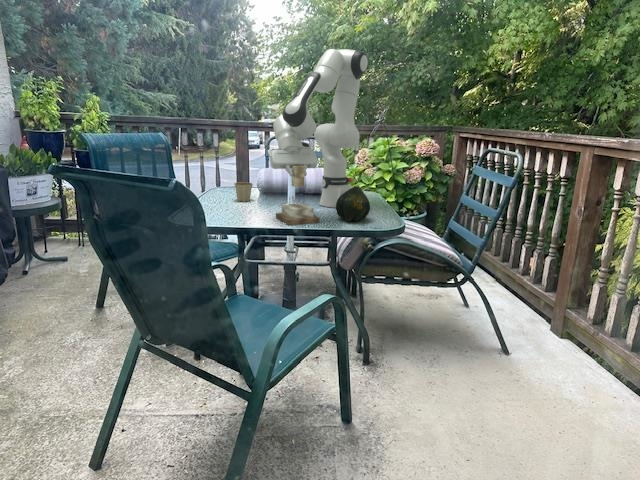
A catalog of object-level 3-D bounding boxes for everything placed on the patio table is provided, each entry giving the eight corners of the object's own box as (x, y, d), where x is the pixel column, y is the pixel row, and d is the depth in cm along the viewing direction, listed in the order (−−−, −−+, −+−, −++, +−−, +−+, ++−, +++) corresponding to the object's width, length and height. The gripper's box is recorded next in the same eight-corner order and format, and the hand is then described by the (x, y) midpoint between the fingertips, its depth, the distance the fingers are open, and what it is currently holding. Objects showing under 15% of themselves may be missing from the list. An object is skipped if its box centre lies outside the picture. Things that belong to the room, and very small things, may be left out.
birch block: (300, 184, 187) (300, 165, 185) (304, 186, 183) (304, 166, 181) (291, 185, 185) (291, 165, 183) (295, 186, 182) (295, 166, 179)
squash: (330, 210, 184) (356, 183, 182) (328, 204, 198) (352, 179, 196) (355, 233, 186) (380, 207, 184) (351, 226, 201) (375, 201, 199)
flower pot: (257, 200, 227) (257, 183, 225) (244, 203, 220) (244, 185, 217) (243, 198, 232) (242, 181, 230) (230, 200, 224) (229, 183, 222)
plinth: (305, 215, 197) (306, 202, 196) (319, 222, 185) (320, 208, 184) (275, 217, 191) (275, 203, 190) (288, 225, 179) (288, 210, 178)
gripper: (268, 143, 181) (276, 170, 176) (314, 144, 190) (323, 170, 184) (264, 153, 186) (272, 180, 181) (309, 153, 195) (318, 179, 189)
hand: (298, 175), depth 183 cm, fingers closed on birch block, 4 cm apart
